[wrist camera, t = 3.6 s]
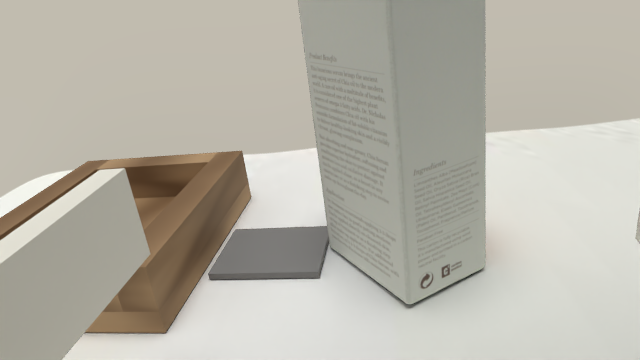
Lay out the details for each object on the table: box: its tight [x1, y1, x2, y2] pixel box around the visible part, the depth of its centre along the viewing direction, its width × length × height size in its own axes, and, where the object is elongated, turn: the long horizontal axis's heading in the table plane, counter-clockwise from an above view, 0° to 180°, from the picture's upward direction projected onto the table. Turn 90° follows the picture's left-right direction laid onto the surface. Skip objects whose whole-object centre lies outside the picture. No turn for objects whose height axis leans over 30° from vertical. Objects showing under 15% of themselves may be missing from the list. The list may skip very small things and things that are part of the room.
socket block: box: [0, 151, 251, 333], centre depth 25 cm, size 10×12×3 cm
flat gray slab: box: [208, 226, 329, 280], centre depth 24 cm, size 5×4×1 cm
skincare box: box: [298, 0, 486, 305], centre depth 20 cm, size 6×4×12 cm
